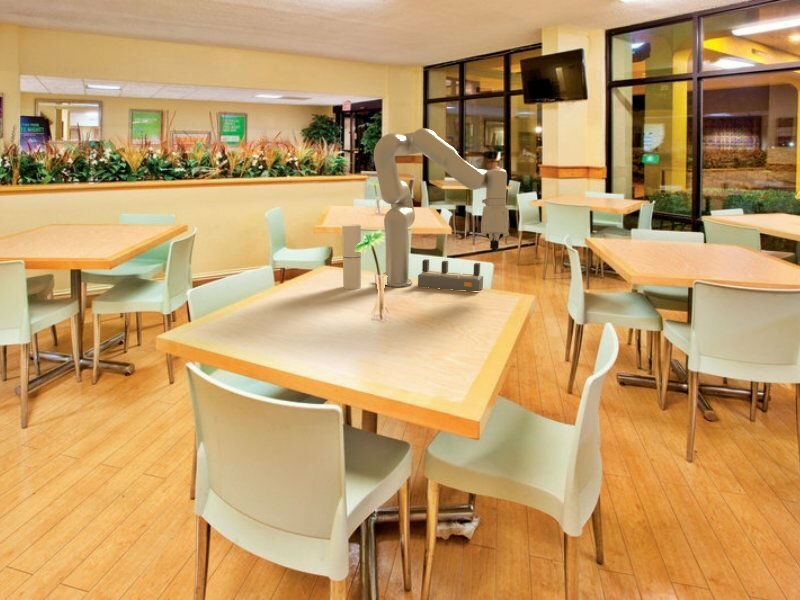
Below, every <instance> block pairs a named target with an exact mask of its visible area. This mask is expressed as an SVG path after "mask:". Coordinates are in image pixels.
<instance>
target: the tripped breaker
mask: <svg viewBox="0 0 800 600" xmlns="http://www.w3.org/2000/svg"><path fill="white" fill-rule="evenodd" d="M473 274H474V275H478V276H479V274H480V275H481V263H480V262H474V263H473Z"/></svg>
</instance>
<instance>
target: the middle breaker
mask: <svg viewBox="0 0 800 600" xmlns="http://www.w3.org/2000/svg"><path fill="white" fill-rule="evenodd" d="M440 271H441V273H447V272H449V260H442V261H441V270H440Z"/></svg>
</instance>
